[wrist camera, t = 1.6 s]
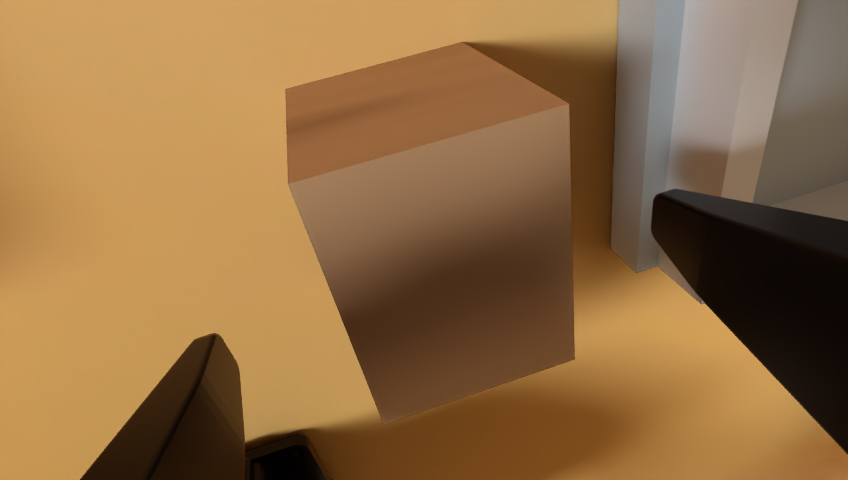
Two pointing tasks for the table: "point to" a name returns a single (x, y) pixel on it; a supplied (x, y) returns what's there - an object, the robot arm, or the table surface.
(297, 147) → the brown wooden block
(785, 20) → the light gray tray
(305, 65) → the table surface
